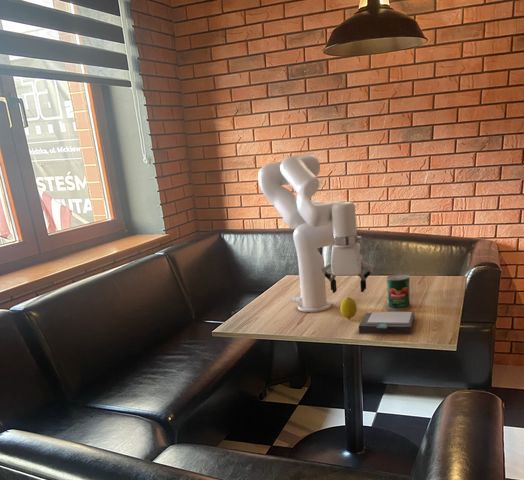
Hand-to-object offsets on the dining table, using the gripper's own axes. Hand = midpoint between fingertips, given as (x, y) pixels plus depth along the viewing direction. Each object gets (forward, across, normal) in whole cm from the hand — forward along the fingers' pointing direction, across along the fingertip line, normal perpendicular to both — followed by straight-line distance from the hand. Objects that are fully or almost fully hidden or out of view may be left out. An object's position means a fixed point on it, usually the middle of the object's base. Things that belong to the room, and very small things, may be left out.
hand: (348, 291), depth 181 cm
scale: (+10, -13, +8) cm, 19 cm away
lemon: (+10, +1, 0) cm, 10 cm away
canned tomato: (+10, -14, -16) cm, 24 cm away
